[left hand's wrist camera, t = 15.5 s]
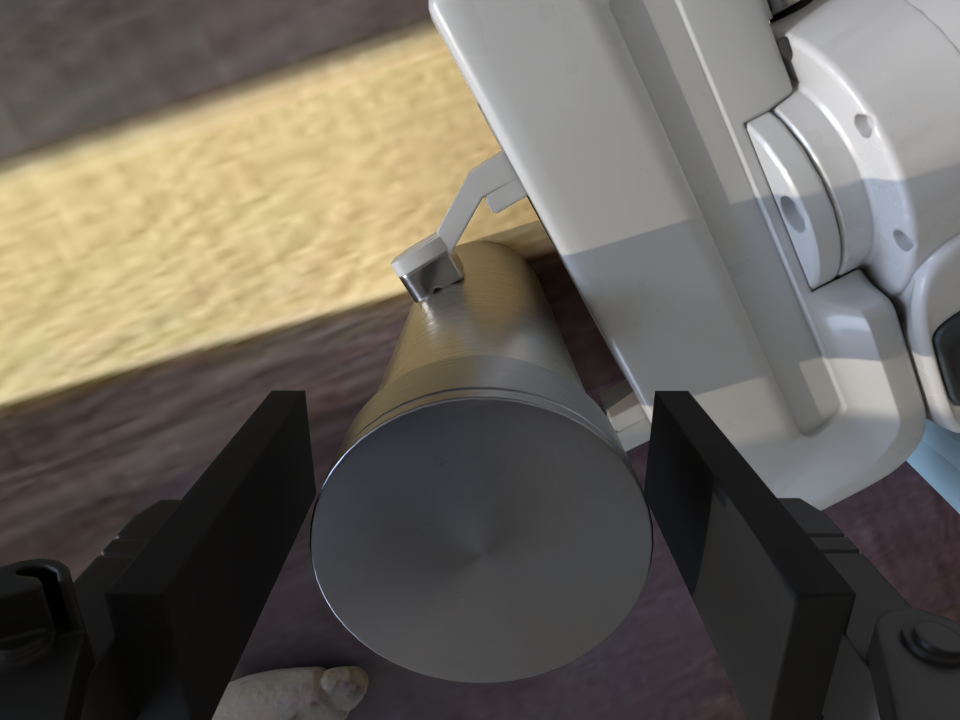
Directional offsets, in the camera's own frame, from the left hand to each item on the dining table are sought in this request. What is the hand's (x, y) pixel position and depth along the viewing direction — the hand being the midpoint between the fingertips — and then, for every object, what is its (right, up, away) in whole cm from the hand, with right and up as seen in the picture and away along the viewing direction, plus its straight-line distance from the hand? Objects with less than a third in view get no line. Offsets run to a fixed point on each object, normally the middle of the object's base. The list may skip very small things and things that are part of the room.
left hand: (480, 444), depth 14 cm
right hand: (-1, +2, +6) cm, 6 cm away
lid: (0, -1, -3) cm, 4 cm away
